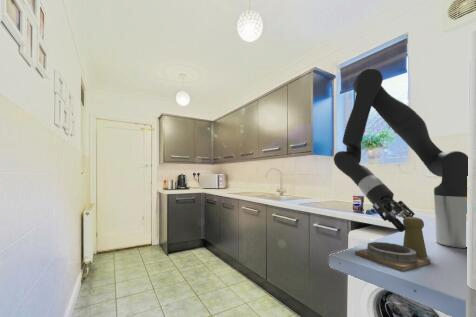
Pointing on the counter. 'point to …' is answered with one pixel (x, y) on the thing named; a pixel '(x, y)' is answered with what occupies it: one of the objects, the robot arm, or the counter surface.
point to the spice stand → (392, 255)
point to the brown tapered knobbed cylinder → (414, 235)
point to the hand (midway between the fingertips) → (411, 229)
